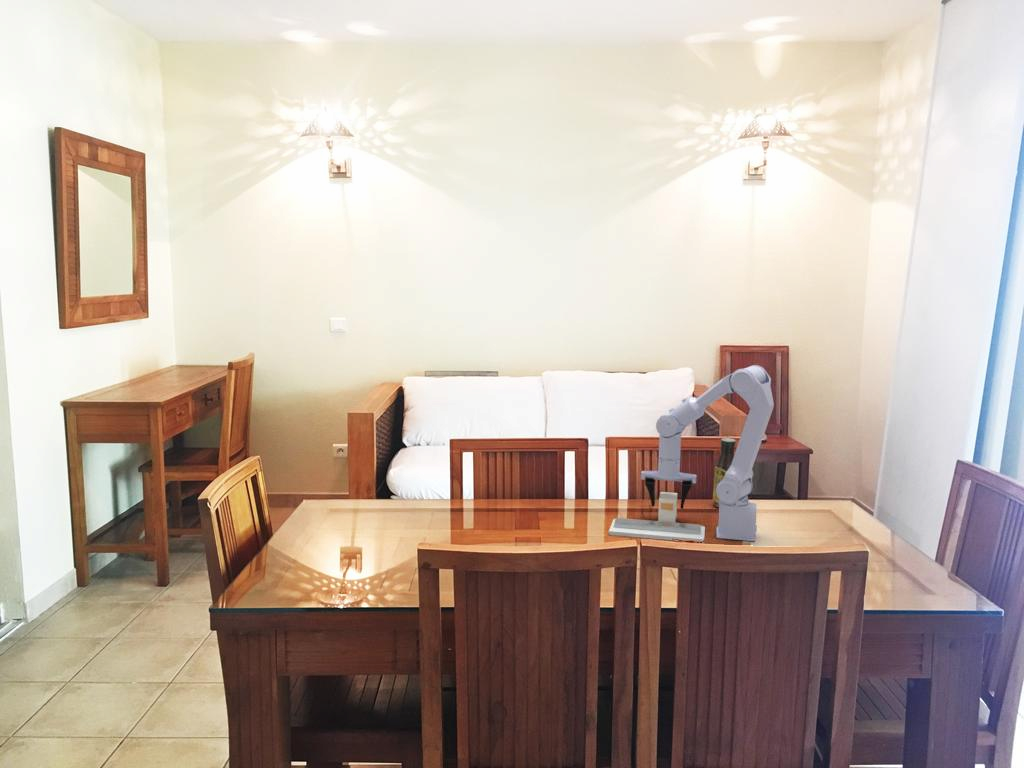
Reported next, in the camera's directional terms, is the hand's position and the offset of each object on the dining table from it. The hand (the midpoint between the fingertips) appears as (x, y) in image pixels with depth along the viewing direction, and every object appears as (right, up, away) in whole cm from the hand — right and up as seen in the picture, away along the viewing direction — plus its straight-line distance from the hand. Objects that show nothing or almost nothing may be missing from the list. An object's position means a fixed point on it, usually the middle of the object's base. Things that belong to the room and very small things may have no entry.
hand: (667, 506), depth 216 cm
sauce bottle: (+19, -2, +13) cm, 23 cm away
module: (0, -4, +1) cm, 4 cm away
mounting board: (-4, -5, -8) cm, 11 cm away
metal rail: (-4, -5, -8) cm, 11 cm away
